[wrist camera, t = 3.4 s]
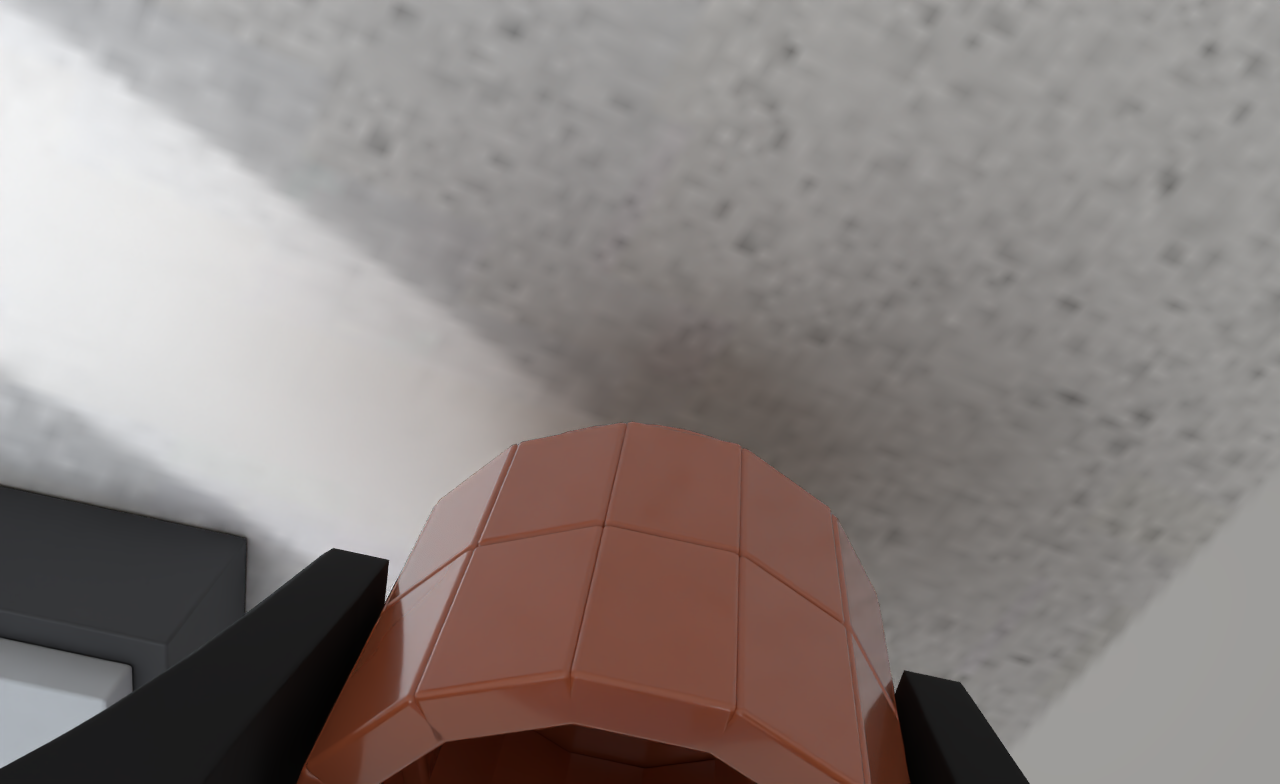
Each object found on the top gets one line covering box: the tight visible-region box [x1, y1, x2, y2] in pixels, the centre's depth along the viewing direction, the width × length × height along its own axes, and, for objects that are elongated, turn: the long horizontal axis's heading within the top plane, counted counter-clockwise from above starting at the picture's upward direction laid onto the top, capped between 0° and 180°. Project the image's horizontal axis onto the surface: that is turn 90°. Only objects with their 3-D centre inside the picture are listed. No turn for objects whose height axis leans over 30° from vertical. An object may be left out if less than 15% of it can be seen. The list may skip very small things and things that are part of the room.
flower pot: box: [295, 421, 910, 784], centre depth 11 cm, size 5×6×4 cm
